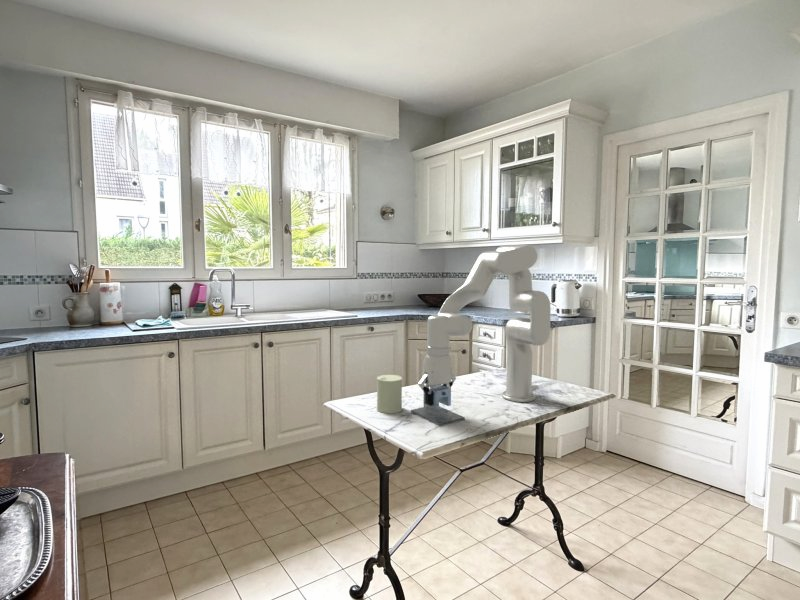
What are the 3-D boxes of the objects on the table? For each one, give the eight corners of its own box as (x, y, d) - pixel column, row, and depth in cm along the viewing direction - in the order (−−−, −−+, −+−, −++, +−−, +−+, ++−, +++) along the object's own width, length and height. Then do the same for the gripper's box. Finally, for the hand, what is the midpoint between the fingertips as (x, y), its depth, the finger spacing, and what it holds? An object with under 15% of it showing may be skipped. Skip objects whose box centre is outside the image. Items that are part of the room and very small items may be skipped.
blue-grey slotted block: (437, 400, 159) (438, 383, 159) (451, 405, 153) (451, 388, 153) (423, 403, 156) (423, 386, 155) (436, 409, 150) (437, 391, 149)
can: (371, 407, 163) (371, 375, 162) (392, 403, 168) (392, 372, 167) (385, 415, 156) (385, 381, 155) (407, 410, 161) (407, 377, 160)
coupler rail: (435, 406, 165) (435, 398, 165) (464, 419, 152) (464, 410, 151) (410, 412, 159) (410, 403, 158) (439, 426, 146) (439, 416, 145)
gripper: (450, 347, 161) (449, 396, 163) (410, 352, 152) (410, 404, 153) (464, 350, 155) (463, 401, 156) (424, 356, 145) (423, 410, 147)
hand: (437, 402), depth 155 cm, fingers closed on blue-grey slotted block, 6 cm apart
